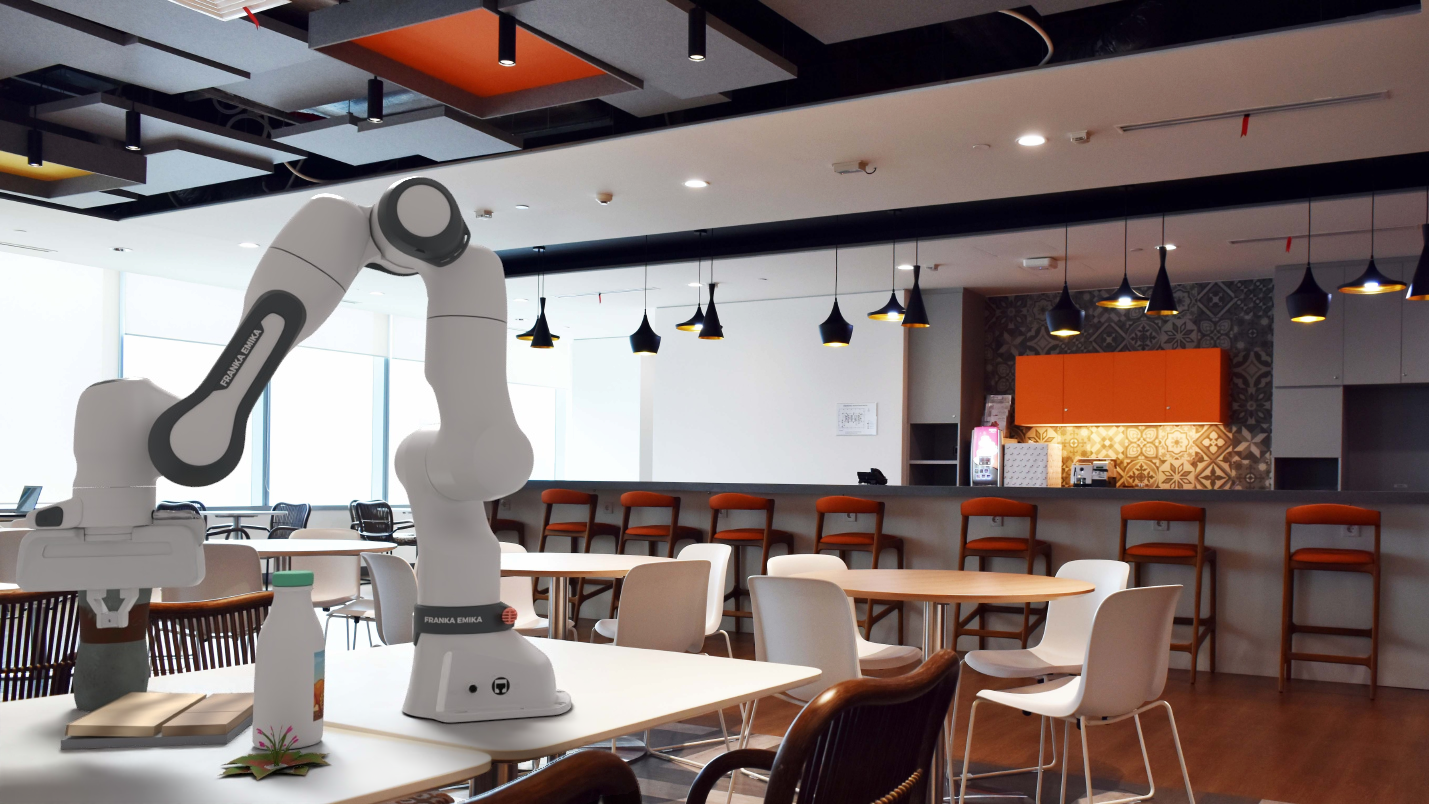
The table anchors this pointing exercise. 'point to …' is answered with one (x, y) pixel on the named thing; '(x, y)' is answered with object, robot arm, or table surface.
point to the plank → (134, 715)
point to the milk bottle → (290, 666)
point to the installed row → (212, 715)
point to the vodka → (111, 653)
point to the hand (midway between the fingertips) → (112, 627)
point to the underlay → (151, 739)
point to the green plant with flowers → (274, 758)
